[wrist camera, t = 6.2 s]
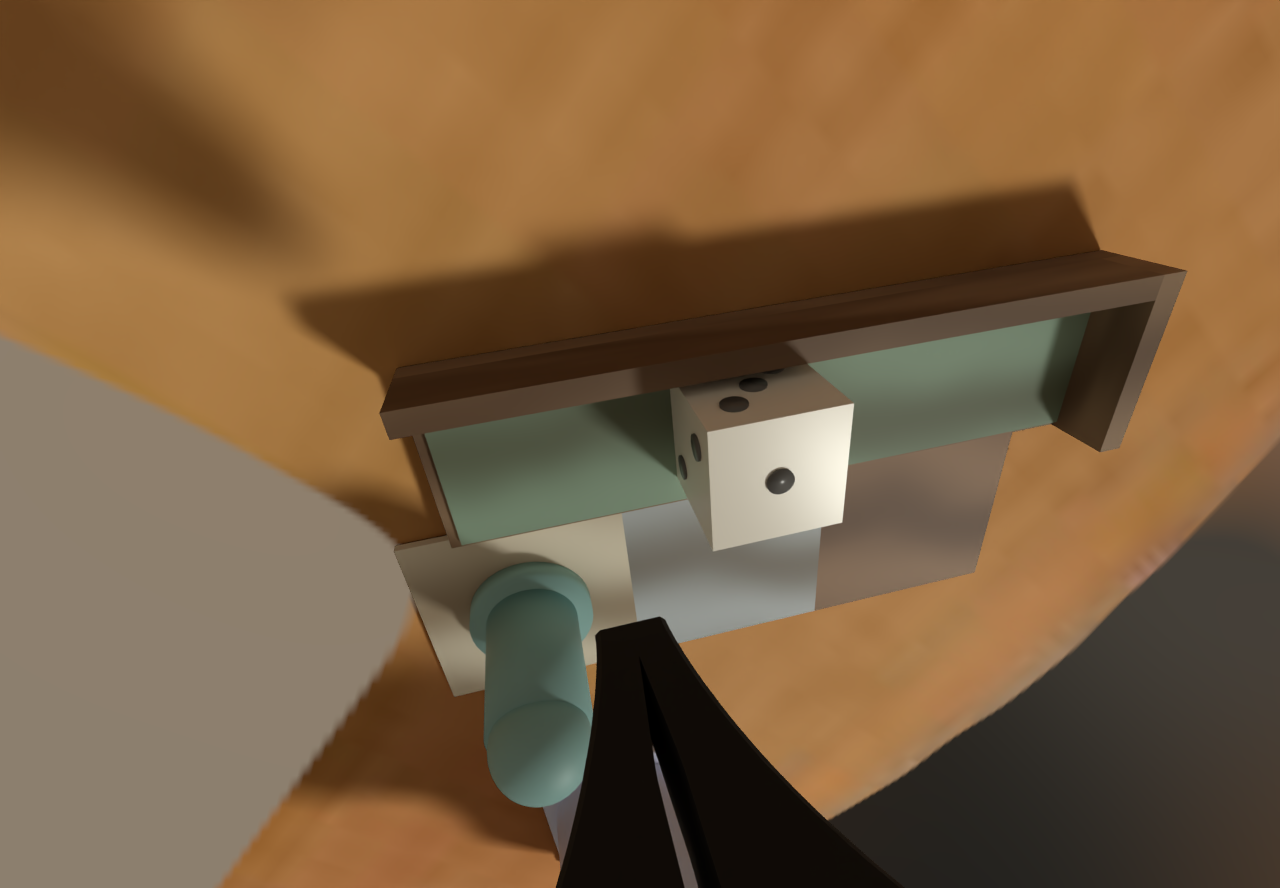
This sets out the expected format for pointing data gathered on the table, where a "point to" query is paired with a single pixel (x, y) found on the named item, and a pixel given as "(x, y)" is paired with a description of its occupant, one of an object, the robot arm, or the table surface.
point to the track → (728, 557)
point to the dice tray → (774, 339)
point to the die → (762, 453)
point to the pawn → (534, 679)
